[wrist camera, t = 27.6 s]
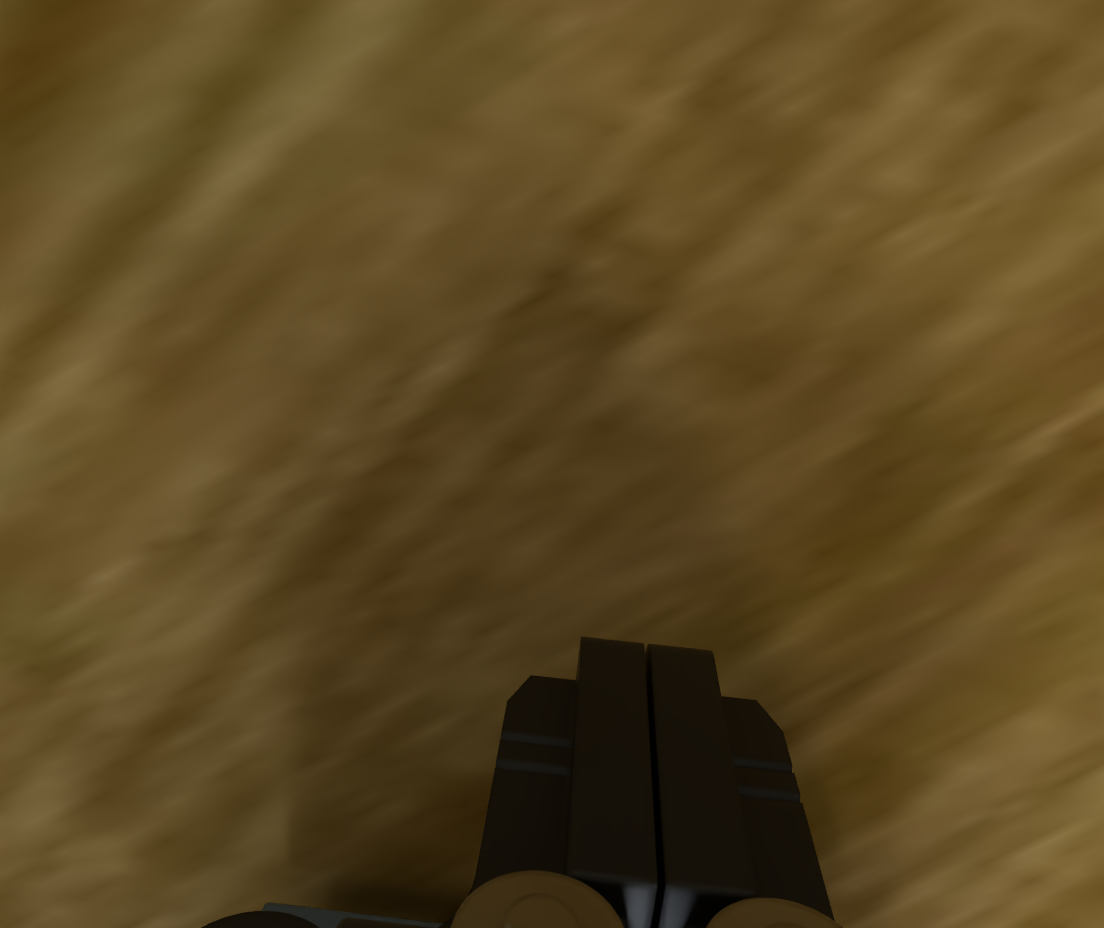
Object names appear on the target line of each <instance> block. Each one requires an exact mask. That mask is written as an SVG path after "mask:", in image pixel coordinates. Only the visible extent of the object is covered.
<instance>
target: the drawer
mask: <svg viewBox="0 0 1104 928" xmlns="http://www.w3.org/2000/svg"><path fill="white" fill-rule="evenodd" d="M262 911H277V912H283V913H289V914H292V915H295V916H298V917H301V918H304V919H306V920H308V921H310V922H311V923H313V924H315V925H317V926H318V927H319V928H438V927H440V926H441V925H442V924H444V923H436V922H428V921H419V920H411V919H403V918H394V917H386V916H378V915H369V914H361V913H353V912H345V911H336V910H328V909H320V908H311V907H303V906H295V905H286V904H278V903H270V902H269V903H266V904H265V905H264V907H263V909H262Z"/></svg>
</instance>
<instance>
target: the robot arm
mask: <svg viewBox="0 0 1104 928" xmlns="http://www.w3.org/2000/svg"><path fill="white" fill-rule="evenodd" d="M202 928H319V927H318V926H317V925H315V924H313V923H311V922H310V921H308V920H306V919H304V918H301V917H298V916H295V915H292V914H289V913H283V912H277V911H254V912H245V913H240V914H236V915H232V916H228V917H225V918H222V919H219V920H217V921H214V922H212V923H209V924H207V925H206V926H204V927H202ZM438 928H843V927H842V926H841V925H839V924H838V923H836V922H835V920H834V917H833V913H832V910H831V906H830V902H829V899H828V895H827V891H826V888H825V884H824V880H823V877H822V873H821V869H820V866H819V862H818V858H817V855H816V851H815V847H814V844H813V840H812V836H811V833H810V829H809V825H808V822H807V818H806V814H805V810H804V807H803V803H800V792H799V788H798V785H797V781H796V777H795V774H794V773H792V763H791V759H790V755H789V752H788V748H787V744H786V741H785V737H784V733H783V731H782V730H781V729H780V727H779V726H778V725H777V724H776V723H775V722H774V720H773V719H772V718H771V717H770V716H769V715H768V713H767V712H766V711H765V710H764V709H763V707H762V706H761V705H760V704H759V703H758V702H757V700H750V699H741V698H732V697H723V696H721V692H720V687H719V681H718V676H717V670H716V665H715V659H714V655H713V652H712V651H710V650H701V649H692V648H683V647H674V646H665V645H656V644H648V645H647V648H646V653H645V649H644V644H643V643H636V642H627V641H618V640H609V639H600V638H591V637H581V640H580V648H579V656H578V664H577V673H576V680H568V679H559V678H550V677H541V676H532V675H531V676H530V677H529V678H528V679H527V680H526V681H525V682H524V683H523V684H522V685H521V687H520V688H519V689H518V690H517V691H516V692H515V693H514V694H513V695H512V696H511V697H510V699H509V700H508V701H507V705H506V711H505V716H504V722H503V727H502V733H501V740H500V744H499V749H498V755H497V760H496V768H495V771H494V777H493V782H492V788H491V793H490V799H489V804H488V810H487V815H486V821H485V826H484V832H483V837H482V843H481V848H480V854H479V859H478V864H477V870H476V875H475V879H474V882H473V886H472V889H471V891H470V893H469V895H468V897H467V898H466V899H465V900H464V902H463V903H462V905H461V906H460V908H459V909H458V911H457V912H456V913H455V914H454V915H453V916H452V917H451V918H450V919H449V920H448V921H446V922H445V923H444V924H442V925H441V926H440V927H438Z"/></svg>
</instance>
